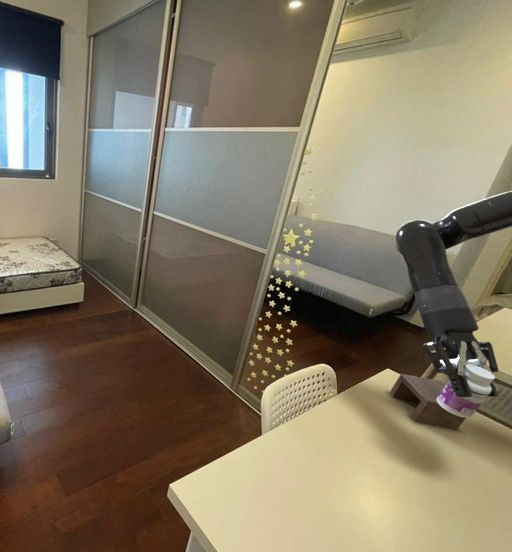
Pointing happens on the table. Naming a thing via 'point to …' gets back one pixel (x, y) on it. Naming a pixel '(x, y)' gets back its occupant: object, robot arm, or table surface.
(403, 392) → the shelf
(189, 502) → the table surface
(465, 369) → the pill bottle
